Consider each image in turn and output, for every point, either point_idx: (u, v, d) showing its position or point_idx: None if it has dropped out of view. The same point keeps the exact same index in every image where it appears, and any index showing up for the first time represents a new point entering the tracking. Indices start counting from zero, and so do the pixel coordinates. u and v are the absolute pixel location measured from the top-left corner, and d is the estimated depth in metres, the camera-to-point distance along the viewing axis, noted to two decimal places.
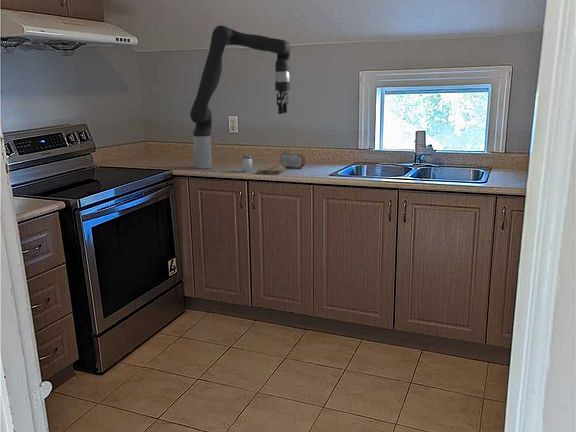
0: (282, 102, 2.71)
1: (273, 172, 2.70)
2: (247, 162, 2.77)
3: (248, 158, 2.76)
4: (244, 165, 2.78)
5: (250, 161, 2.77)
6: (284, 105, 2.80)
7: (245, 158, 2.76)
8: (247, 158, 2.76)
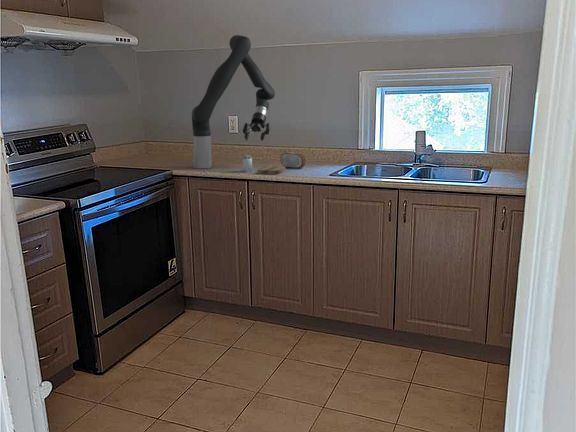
0: None
1: (273, 172, 2.70)
2: (247, 162, 2.77)
3: (248, 158, 2.76)
4: (244, 165, 2.78)
5: (250, 161, 2.77)
6: (248, 133, 2.90)
7: (245, 158, 2.76)
8: (247, 158, 2.76)
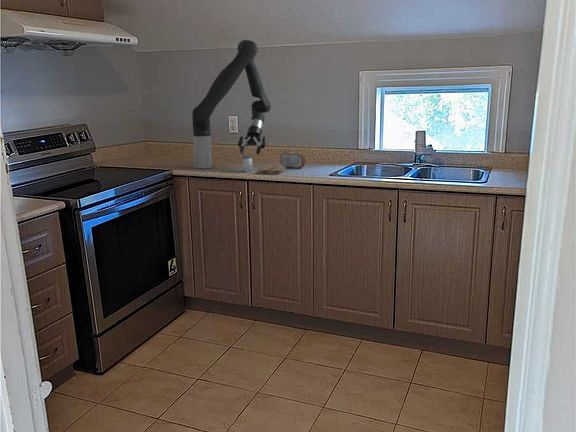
0: None
1: (273, 172, 2.70)
2: (247, 162, 2.77)
3: (248, 158, 2.76)
4: (244, 165, 2.78)
5: (250, 161, 2.77)
6: (243, 147, 2.84)
7: (245, 158, 2.76)
8: (247, 158, 2.76)
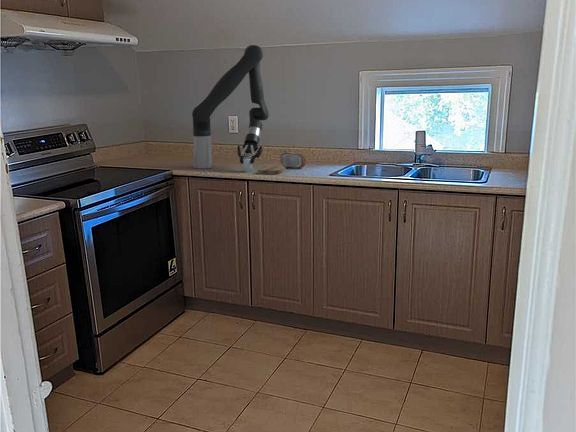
0: None
1: (273, 172, 2.70)
2: (247, 162, 2.77)
3: (248, 158, 2.76)
4: (244, 165, 2.78)
5: None
6: None
7: (245, 158, 2.76)
8: (247, 158, 2.76)
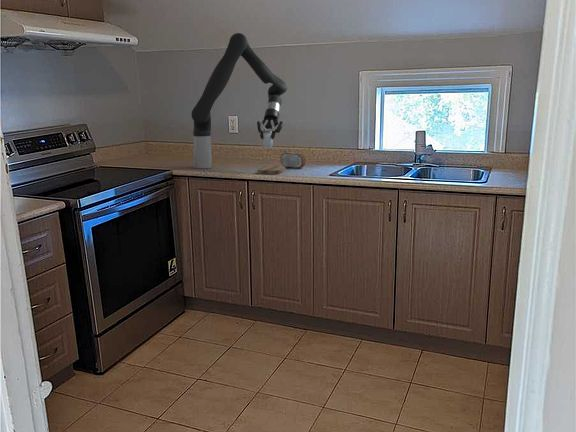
0: None
1: (273, 172, 2.70)
2: (267, 137, 2.71)
3: (269, 133, 2.71)
4: (265, 140, 2.72)
5: None
6: None
7: (266, 133, 2.71)
8: (268, 133, 2.71)
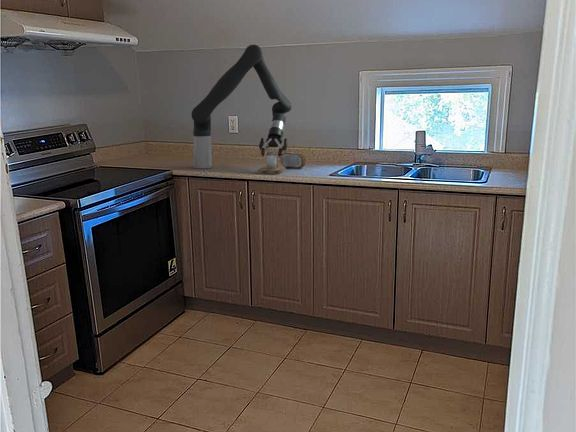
0: None
1: (273, 172, 2.70)
2: (271, 158, 2.73)
3: (272, 155, 2.73)
4: (268, 162, 2.74)
5: (274, 158, 2.74)
6: (264, 149, 2.77)
7: (269, 155, 2.73)
8: (271, 155, 2.73)
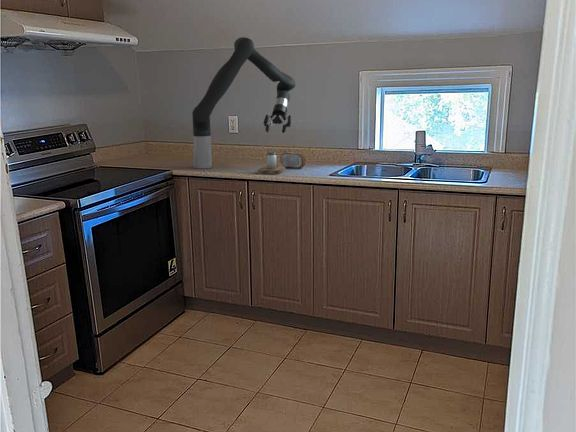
0: None
1: (273, 172, 2.70)
2: (271, 158, 2.73)
3: (272, 154, 2.73)
4: (268, 161, 2.74)
5: (274, 158, 2.74)
6: (269, 125, 2.85)
7: (269, 154, 2.73)
8: (271, 154, 2.73)
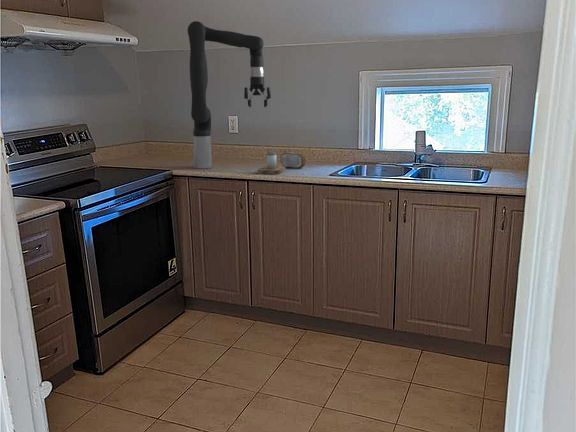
0: None
1: (273, 172, 2.70)
2: (271, 158, 2.73)
3: (272, 155, 2.73)
4: (268, 162, 2.74)
5: (274, 158, 2.74)
6: (250, 99, 2.92)
7: (269, 155, 2.73)
8: (271, 155, 2.73)
